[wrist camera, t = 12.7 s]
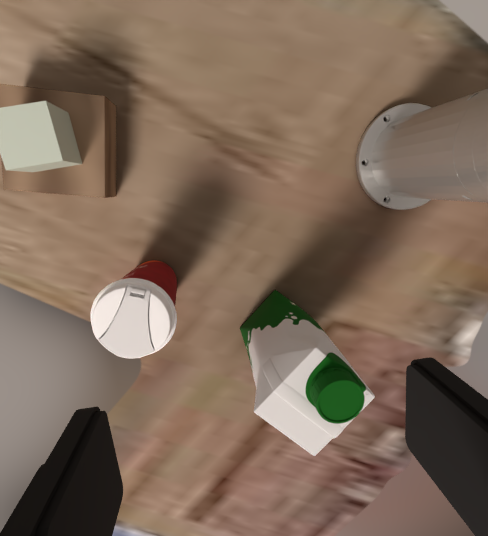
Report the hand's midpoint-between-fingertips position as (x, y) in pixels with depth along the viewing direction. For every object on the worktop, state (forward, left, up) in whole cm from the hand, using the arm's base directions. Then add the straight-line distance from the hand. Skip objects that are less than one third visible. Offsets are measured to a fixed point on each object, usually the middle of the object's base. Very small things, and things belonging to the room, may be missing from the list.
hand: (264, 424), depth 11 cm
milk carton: (-6, +12, -34) cm, 37 cm away
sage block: (+16, -13, -30) cm, 36 cm away
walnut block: (+16, -13, -35) cm, 40 cm away
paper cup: (+9, +4, -34) cm, 36 cm away
